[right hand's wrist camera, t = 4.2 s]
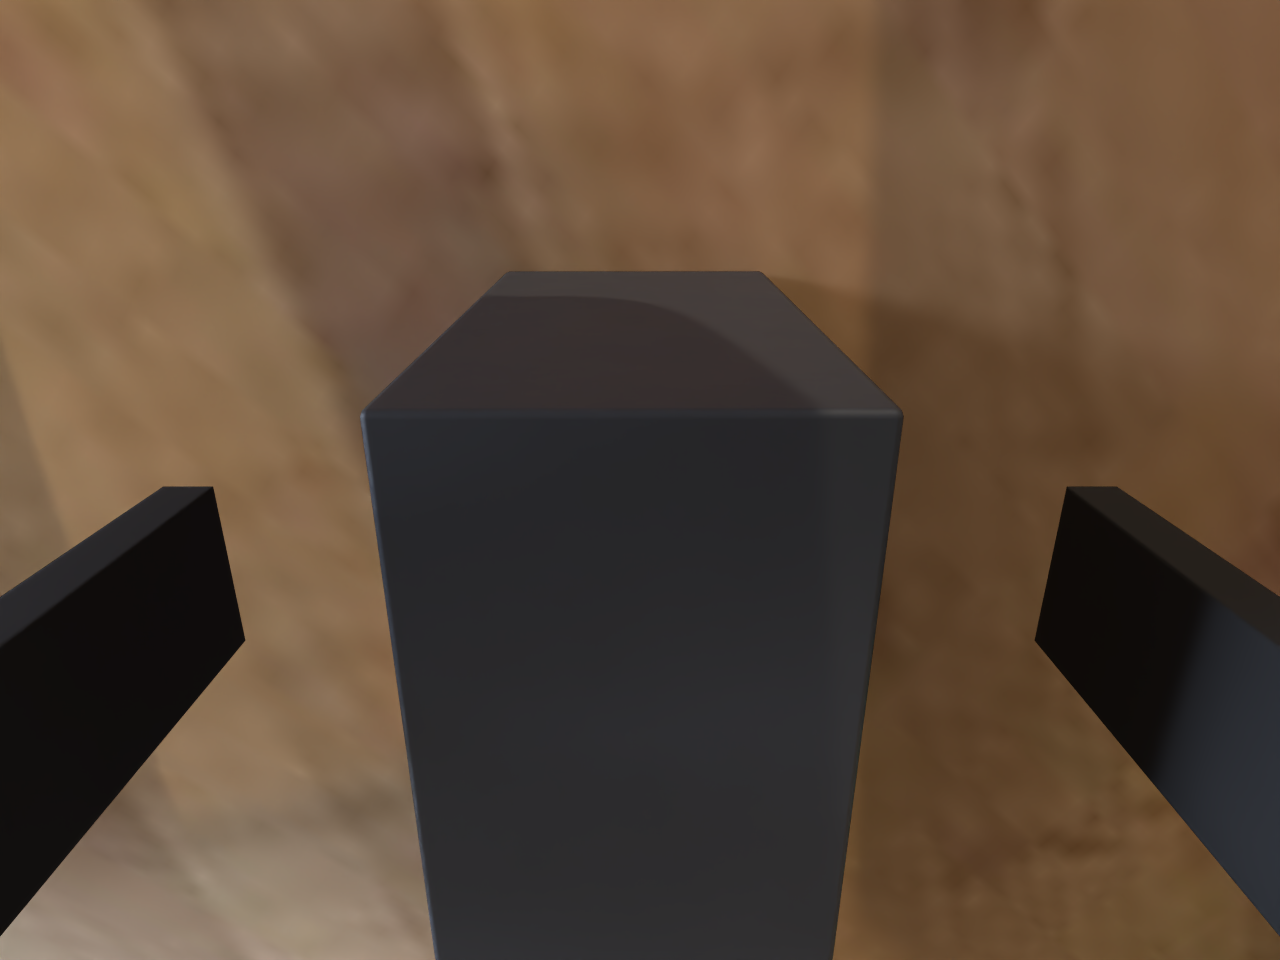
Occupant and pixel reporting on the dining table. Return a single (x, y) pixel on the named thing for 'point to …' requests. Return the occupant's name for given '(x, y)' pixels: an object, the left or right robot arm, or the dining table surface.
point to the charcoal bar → (632, 614)
